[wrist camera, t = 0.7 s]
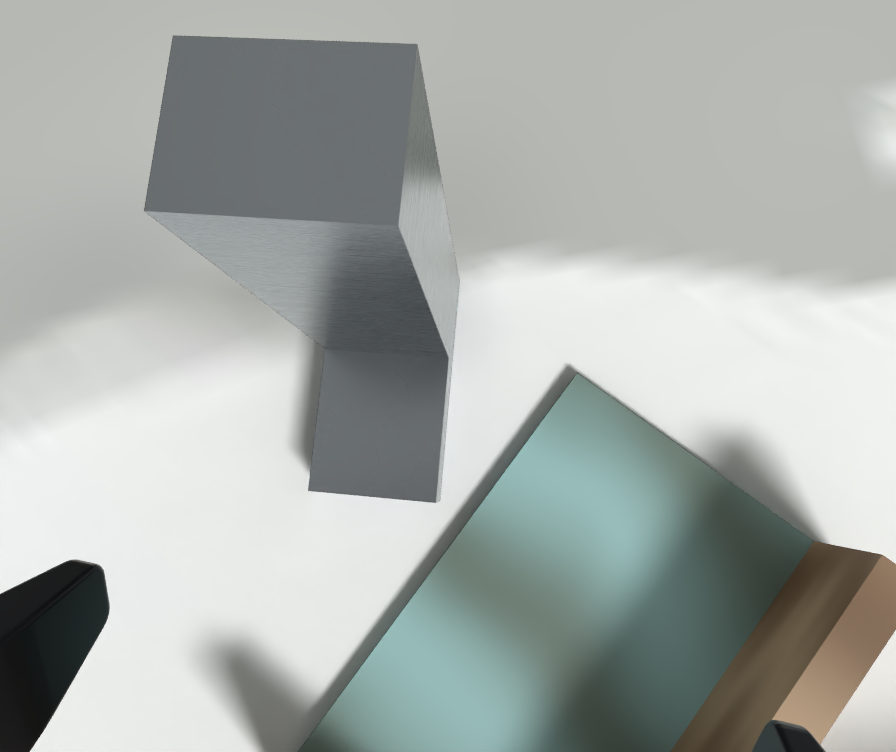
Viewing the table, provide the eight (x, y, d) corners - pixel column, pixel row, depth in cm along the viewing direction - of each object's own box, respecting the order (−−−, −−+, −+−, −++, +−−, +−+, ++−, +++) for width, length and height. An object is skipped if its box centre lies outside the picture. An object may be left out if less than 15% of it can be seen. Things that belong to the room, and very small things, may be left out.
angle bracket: (345, 273, 23) (172, 35, 11) (459, 280, 23) (417, 44, 10) (320, 490, 22) (95, 504, 10) (440, 500, 22) (366, 531, 9)
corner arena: (537, 1014, 19) (548, 1155, 15) (276, 781, 21) (224, 853, 17) (841, 564, 20) (925, 584, 16) (575, 375, 22) (593, 352, 18)
